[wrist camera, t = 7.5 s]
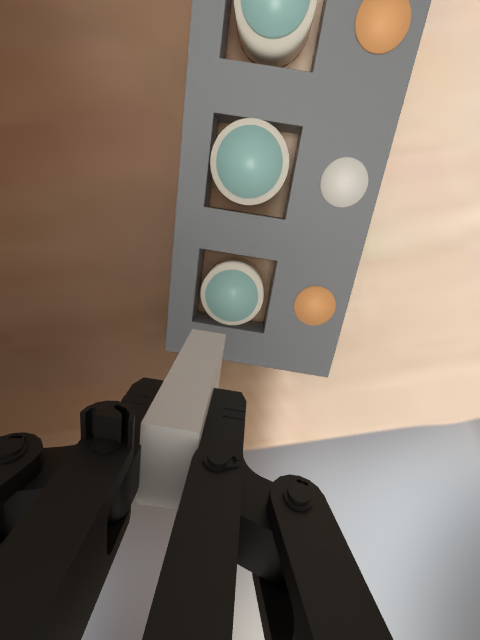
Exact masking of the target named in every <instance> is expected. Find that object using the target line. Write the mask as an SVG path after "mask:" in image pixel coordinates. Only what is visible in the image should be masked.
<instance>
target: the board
mask: <svg viewBox="0 0 480 640" xmlns="http://www.w3.org/2000/svg"><path fill="white" fill-rule="evenodd" d="M231 3H232V0H192V12H191V24H190V37H189V50H188V63H187V76H186V89H185V102H184V114H183V127H182V140H181V153H180V166H179V179H178V191H177V204H176V217H175V230H174V243H173V256H172V268H171V281H170V294H169V307H168V320H167V333H166V346H165V351H171V352H177V353H179V352H180V351H181V349H182V347H183V345H184V343H185V341H186V340H187V338H188V336H189V334H190V332H191V330H192V329H196V330H203V331H209V332H215V333H221V334H226V338H225V344H224V351H223V358H222V360H226V361H232V362H238V363H244V364H250V365H256V366H262V367H268V368H274V369H280V370H286V371H292V372H298V373H305V374H311V375H317V376H323V377H328V375H329V371H330V367H331V364H332V360H333V356H334V353H335V349H336V346H337V342H338V338H339V335H340V331H341V327H342V324H343V320H344V316H345V313H346V309H347V306H348V302H349V298H350V295H351V291H352V287H353V284H354V280H355V276H356V273H357V269H358V265H359V262H360V258H361V255H362V251H363V247H364V244H365V240H366V236H367V233H368V229H369V225H370V222H371V218H372V215H373V211H374V207H375V204H376V200H377V196H378V193H379V189H380V185H381V182H382V178H383V174H384V171H385V167H386V164H387V160H388V156H389V153H390V149H391V145H392V142H393V138H394V134H395V131H396V127H397V124H398V120H399V116H400V113H401V109H402V105H403V102H404V98H405V94H406V91H407V87H408V83H409V80H410V76H411V73H412V69H413V65H414V62H415V58H416V54H417V51H418V47H419V43H420V40H421V36H422V32H423V29H424V25H425V22H426V18H427V14H428V11H429V7H430V3H431V0H324V3H323V8H322V13H321V19H320V24H319V29H318V35H317V40H316V46H315V51H314V56H313V62H312V67H311V72H307V71H300V70H294V69H287V68H281V67H274V66H268V65H261V64H255V63H248V62H242V61H235V60H229V59H225V57H226V48H227V39H228V30H229V21H230V12H231ZM245 118H256V119H261V120H263V121H266V122H268V123H269V124H271V125H272V126H274V127H275V128H276V129H277V130H278V131H284V132H290V133H297V134H299V137H298V142H297V148H296V153H295V158H294V164H293V169H292V174H291V180H290V185H289V191H288V196H287V201H286V207H285V212H284V217H283V218H277V217H271V216H265V215H259V214H252V213H246V212H240V211H234V210H227V209H221V208H215V207H209V202H210V193H211V184H212V173H211V166H210V158H211V151H212V148H213V145H214V143H215V141H216V139H217V130H218V121H220V122H226V123H233V122H235V121H237V120H240V119H245ZM204 249H207V250H213V251H219V252H226V253H232V254H238V255H244V256H251V257H257V258H263V259H269V260H275V266H274V271H273V276H272V282H271V287H270V293H269V298H268V303H267V309H266V314H265V319H264V323H260V322H254V321H248V322H246V323H243V324H240V325H226V324H223V323H220V322H218V321H216V320H215V319H213V318H212V317H211V316H210V315H209V314H205V313H199V312H197V311H198V302H199V293H200V284H201V275H202V266H203V257H204Z"/></svg>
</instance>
